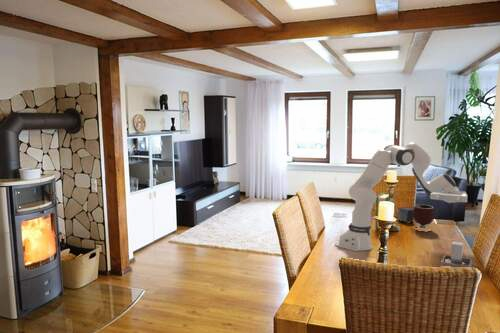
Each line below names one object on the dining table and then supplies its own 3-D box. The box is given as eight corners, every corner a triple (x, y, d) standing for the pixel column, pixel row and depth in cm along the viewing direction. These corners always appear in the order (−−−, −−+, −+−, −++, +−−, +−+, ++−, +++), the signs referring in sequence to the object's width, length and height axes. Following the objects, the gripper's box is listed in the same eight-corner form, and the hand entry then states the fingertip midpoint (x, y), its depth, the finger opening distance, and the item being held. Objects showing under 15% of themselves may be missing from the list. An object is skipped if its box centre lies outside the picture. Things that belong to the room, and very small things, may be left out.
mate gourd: (422, 226, 293) (423, 199, 291) (437, 231, 280) (439, 203, 278) (406, 228, 287) (407, 201, 285) (421, 233, 274) (422, 205, 272)
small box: (413, 222, 303) (414, 209, 302) (407, 223, 301) (407, 210, 299) (403, 219, 313) (404, 206, 312) (397, 220, 310) (397, 207, 309)
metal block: (450, 265, 211) (451, 243, 210) (451, 262, 216) (452, 241, 214) (461, 267, 209) (462, 245, 207) (461, 264, 213) (463, 242, 211)
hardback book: (385, 230, 282) (386, 197, 279) (375, 229, 286) (376, 196, 283) (392, 225, 297) (393, 193, 294) (382, 223, 301) (383, 192, 298)
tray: (440, 268, 210) (440, 261, 210) (443, 260, 222) (444, 254, 221) (470, 273, 203) (470, 267, 202) (472, 265, 214) (472, 259, 214)
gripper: (432, 188, 250) (428, 192, 239) (468, 191, 239) (466, 195, 227) (431, 198, 251) (427, 202, 239) (468, 202, 240) (466, 206, 228)
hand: (447, 199), depth 233 cm, fingers open, 8 cm apart
